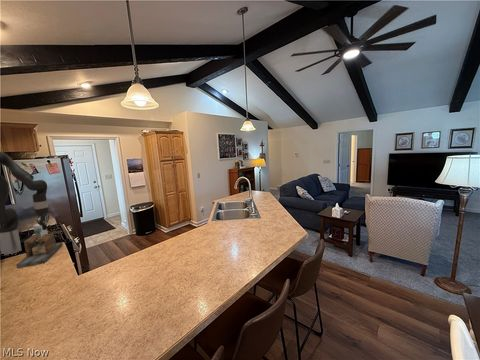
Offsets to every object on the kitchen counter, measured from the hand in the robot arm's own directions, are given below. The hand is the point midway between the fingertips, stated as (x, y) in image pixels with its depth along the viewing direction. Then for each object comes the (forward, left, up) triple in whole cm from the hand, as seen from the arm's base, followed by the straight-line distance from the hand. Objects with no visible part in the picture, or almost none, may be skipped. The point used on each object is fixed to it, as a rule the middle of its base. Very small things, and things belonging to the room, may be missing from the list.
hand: (45, 229), depth 151 cm
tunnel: (0, -9, -16) cm, 19 cm away
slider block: (0, -9, -14) cm, 16 cm away
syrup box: (-14, +25, -17) cm, 33 cm away
